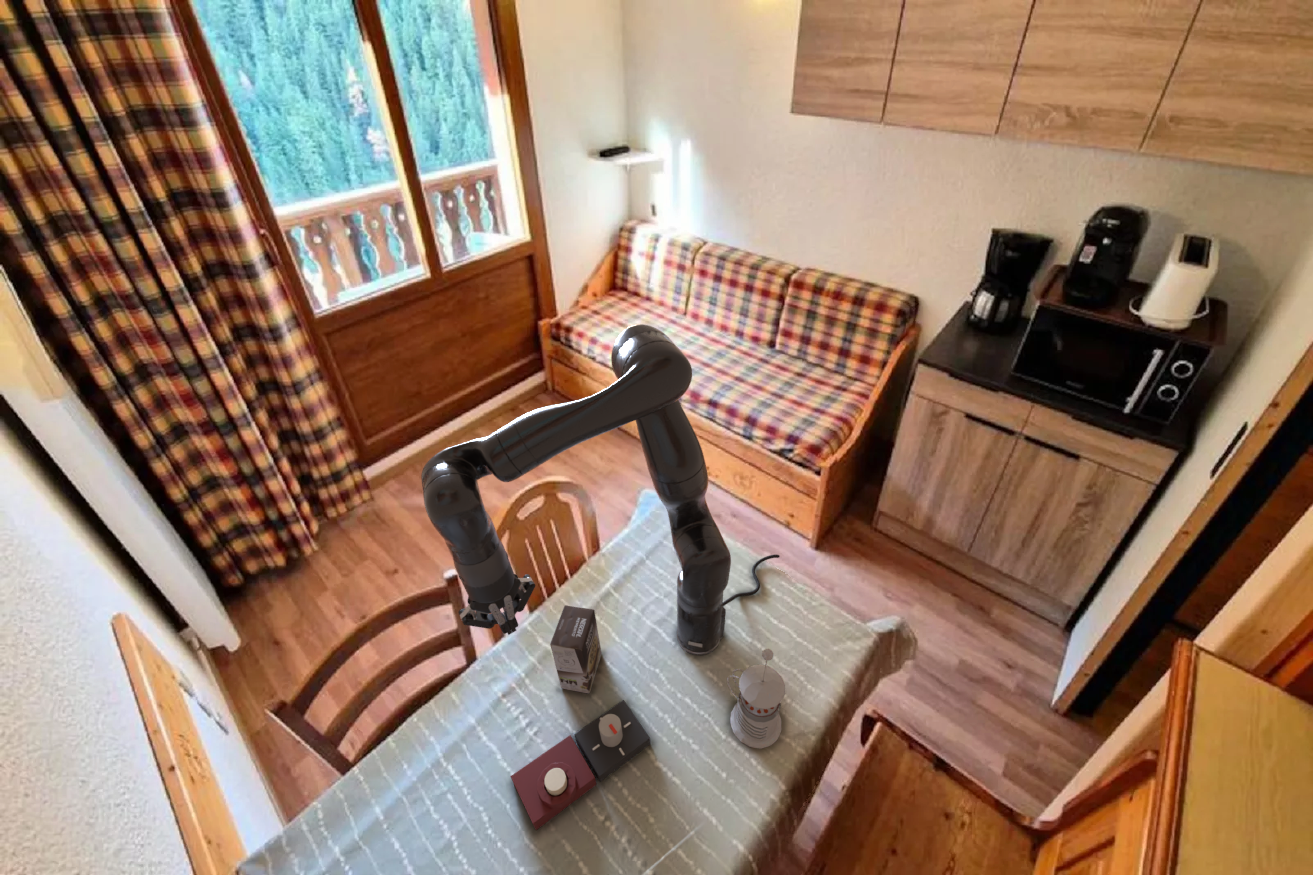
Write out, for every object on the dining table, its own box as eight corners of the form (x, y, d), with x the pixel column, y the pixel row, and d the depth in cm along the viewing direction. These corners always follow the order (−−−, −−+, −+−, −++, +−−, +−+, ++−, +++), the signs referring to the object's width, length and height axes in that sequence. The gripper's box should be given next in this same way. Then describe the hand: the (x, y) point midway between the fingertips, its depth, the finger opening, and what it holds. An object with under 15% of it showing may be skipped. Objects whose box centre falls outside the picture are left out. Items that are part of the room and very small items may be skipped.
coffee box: (590, 694, 115) (581, 651, 105) (560, 688, 116) (548, 645, 106) (603, 653, 122) (595, 608, 111) (574, 648, 123) (564, 603, 113)
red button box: (572, 742, 108) (569, 730, 105) (599, 788, 102) (596, 777, 98) (513, 783, 103) (508, 772, 99) (537, 834, 96) (533, 824, 93)
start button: (561, 768, 100) (559, 763, 99) (571, 786, 98) (569, 781, 96) (542, 781, 99) (540, 776, 97) (552, 800, 96) (550, 795, 95)
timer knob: (596, 734, 106) (594, 722, 103) (614, 720, 108) (612, 708, 105) (609, 752, 104) (606, 740, 101) (626, 737, 106) (625, 726, 103)
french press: (762, 760, 104) (776, 693, 89) (712, 717, 111) (717, 647, 95) (791, 719, 110) (810, 649, 94) (742, 680, 116) (751, 609, 100)
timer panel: (624, 705, 113) (623, 699, 111) (650, 744, 107) (650, 738, 105) (575, 739, 108) (573, 733, 106) (600, 782, 102) (598, 776, 101)
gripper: (514, 530, 92) (536, 595, 103) (433, 570, 87) (466, 633, 98) (533, 560, 87) (554, 624, 98) (448, 604, 82) (481, 667, 93)
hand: (510, 629), depth 98 cm, fingers closed
